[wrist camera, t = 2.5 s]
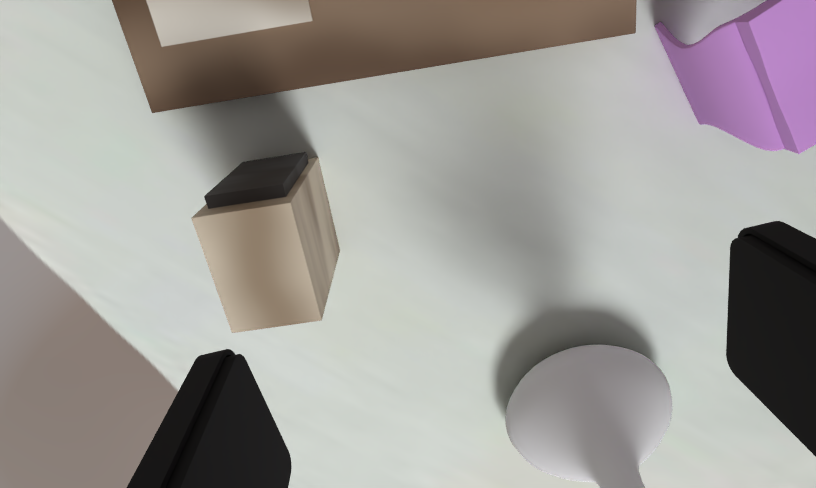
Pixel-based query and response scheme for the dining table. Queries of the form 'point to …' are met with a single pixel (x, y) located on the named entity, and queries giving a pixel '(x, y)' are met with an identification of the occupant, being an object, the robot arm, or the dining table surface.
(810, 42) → the toy chair
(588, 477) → the flower in vase
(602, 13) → the rail board
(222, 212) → the wooden block
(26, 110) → the dining table surface
